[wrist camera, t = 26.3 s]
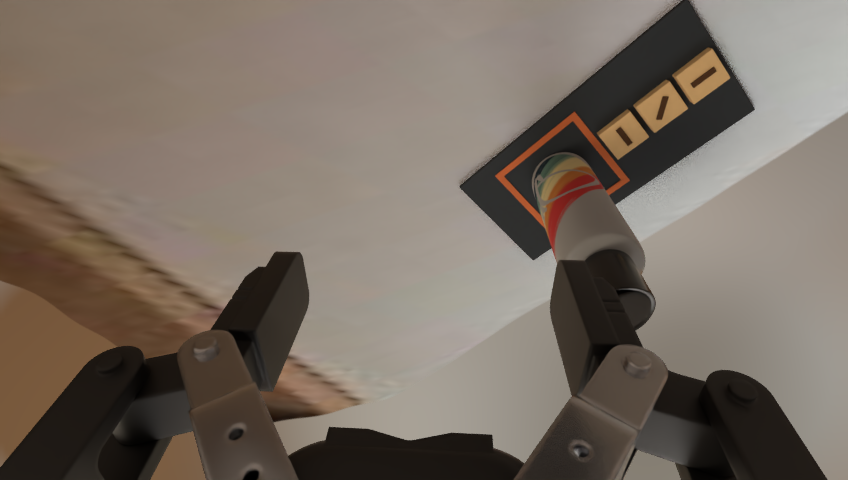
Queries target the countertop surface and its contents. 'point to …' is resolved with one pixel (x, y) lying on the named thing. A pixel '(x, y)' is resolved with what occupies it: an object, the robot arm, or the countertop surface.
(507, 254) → the countertop surface
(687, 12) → the mat
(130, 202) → the countertop surface
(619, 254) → the lotion bottle
